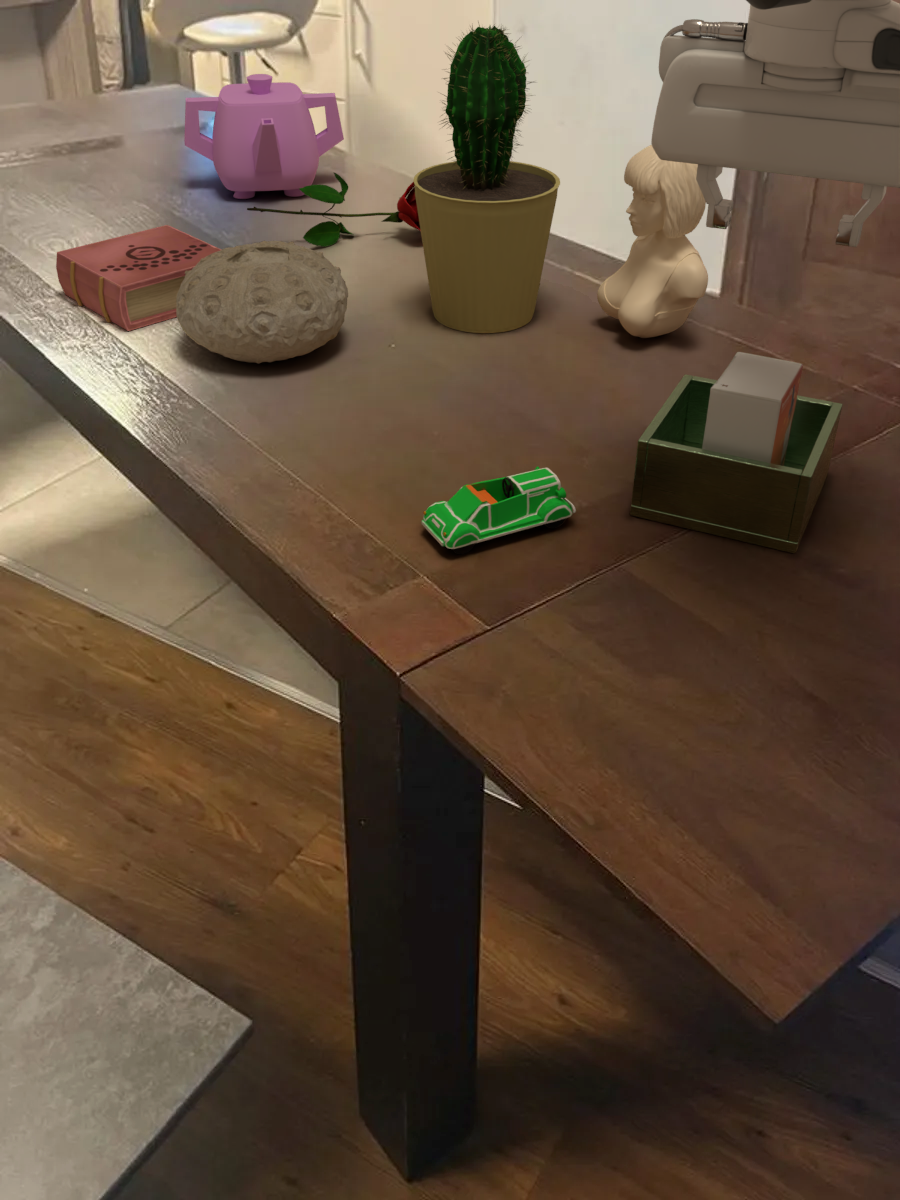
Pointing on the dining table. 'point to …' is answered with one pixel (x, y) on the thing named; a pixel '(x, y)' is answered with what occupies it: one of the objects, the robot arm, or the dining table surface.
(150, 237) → the book
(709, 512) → the open box
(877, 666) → the dining table surface
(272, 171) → the teapot
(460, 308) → the potted cactus
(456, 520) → the toy car
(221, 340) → the decorative shell
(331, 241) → the flower
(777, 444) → the small box
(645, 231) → the figurine
